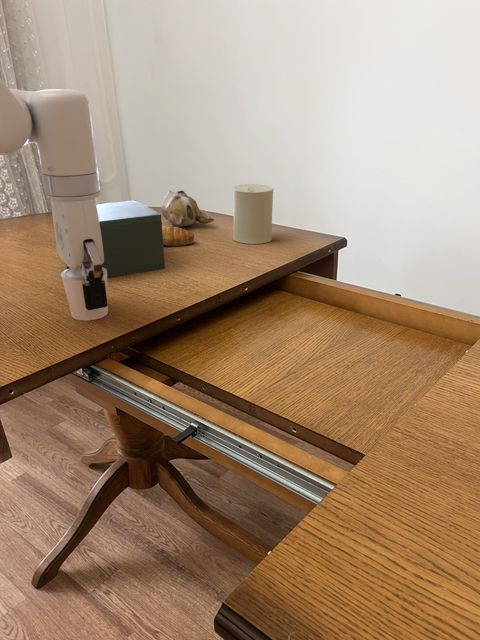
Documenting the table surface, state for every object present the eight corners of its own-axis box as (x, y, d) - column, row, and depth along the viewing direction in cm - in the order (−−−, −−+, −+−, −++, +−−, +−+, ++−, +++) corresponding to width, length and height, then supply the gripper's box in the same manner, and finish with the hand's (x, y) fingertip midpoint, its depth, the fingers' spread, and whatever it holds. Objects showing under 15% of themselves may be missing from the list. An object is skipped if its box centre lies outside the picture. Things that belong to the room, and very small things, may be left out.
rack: (83, 281, 99) (75, 224, 95) (64, 260, 110) (56, 208, 105) (164, 268, 107) (161, 214, 102) (139, 249, 118) (135, 200, 113)
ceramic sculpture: (187, 182, 141) (216, 196, 130) (188, 215, 145) (216, 231, 135) (149, 186, 135) (176, 201, 125) (151, 220, 140) (177, 237, 129)
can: (228, 242, 123) (228, 188, 118) (237, 232, 132) (237, 181, 126) (268, 245, 122) (270, 190, 117) (275, 234, 130) (276, 183, 125)
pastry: (196, 239, 126) (195, 222, 124) (192, 247, 120) (191, 230, 118) (155, 238, 126) (154, 222, 124) (150, 247, 120) (148, 230, 118)
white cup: (120, 307, 89) (115, 267, 86) (97, 324, 83) (91, 281, 80) (82, 303, 91) (76, 262, 87) (58, 319, 85) (51, 276, 81)
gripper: (32, 177, 82) (51, 285, 90) (59, 199, 69) (79, 322, 77) (82, 174, 86) (96, 277, 94) (117, 193, 73) (130, 312, 81)
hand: (88, 297), depth 86 cm, fingers open, 8 cm apart
